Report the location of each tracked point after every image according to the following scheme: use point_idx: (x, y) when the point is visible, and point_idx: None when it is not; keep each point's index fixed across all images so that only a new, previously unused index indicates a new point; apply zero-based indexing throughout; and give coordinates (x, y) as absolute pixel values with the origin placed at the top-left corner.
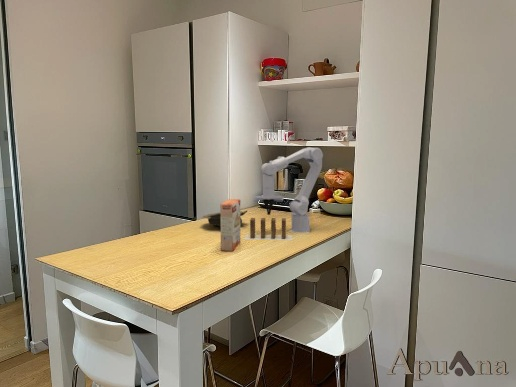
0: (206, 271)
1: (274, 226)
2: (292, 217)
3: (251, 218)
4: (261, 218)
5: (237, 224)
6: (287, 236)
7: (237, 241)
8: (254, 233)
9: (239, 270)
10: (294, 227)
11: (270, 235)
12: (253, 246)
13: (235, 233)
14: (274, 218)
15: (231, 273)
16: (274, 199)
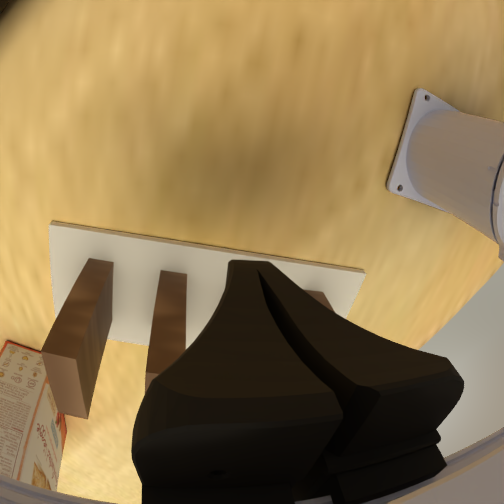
0: (65, 487)
1: None
2: (476, 199)
3: (49, 370)
4: (145, 386)
5: (45, 483)
6: (330, 295)
7: (58, 415)
8: (106, 317)
9: (128, 496)
10: (429, 194)
11: (225, 265)
12: (127, 402)
13: (54, 466)
14: None
15: (116, 499)
16: (424, 484)
